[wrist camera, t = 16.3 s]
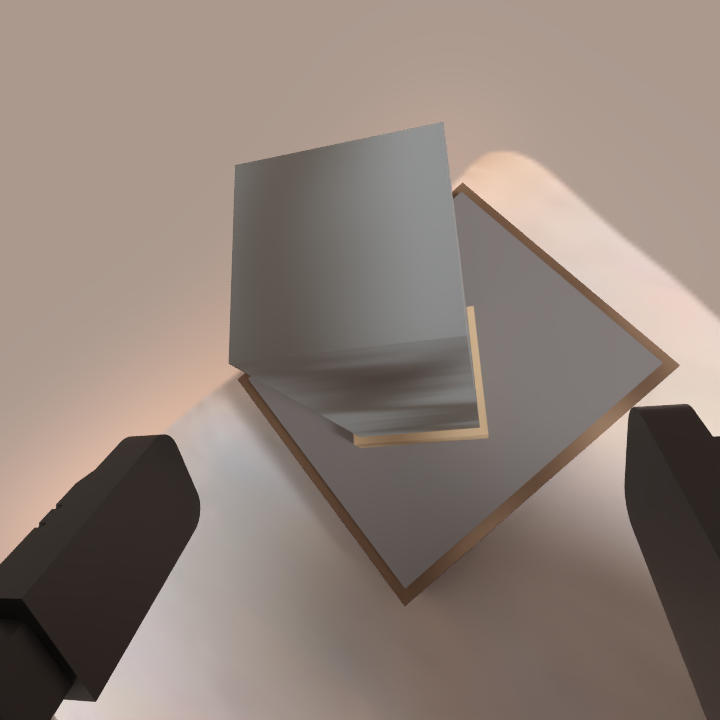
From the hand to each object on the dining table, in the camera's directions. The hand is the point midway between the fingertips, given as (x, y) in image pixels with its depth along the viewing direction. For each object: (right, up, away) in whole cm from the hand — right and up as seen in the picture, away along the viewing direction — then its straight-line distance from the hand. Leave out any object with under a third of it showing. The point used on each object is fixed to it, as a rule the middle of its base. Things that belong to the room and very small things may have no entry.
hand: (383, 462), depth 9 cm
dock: (+4, 0, +18) cm, 18 cm away
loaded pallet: (+2, +1, +14) cm, 14 cm away
